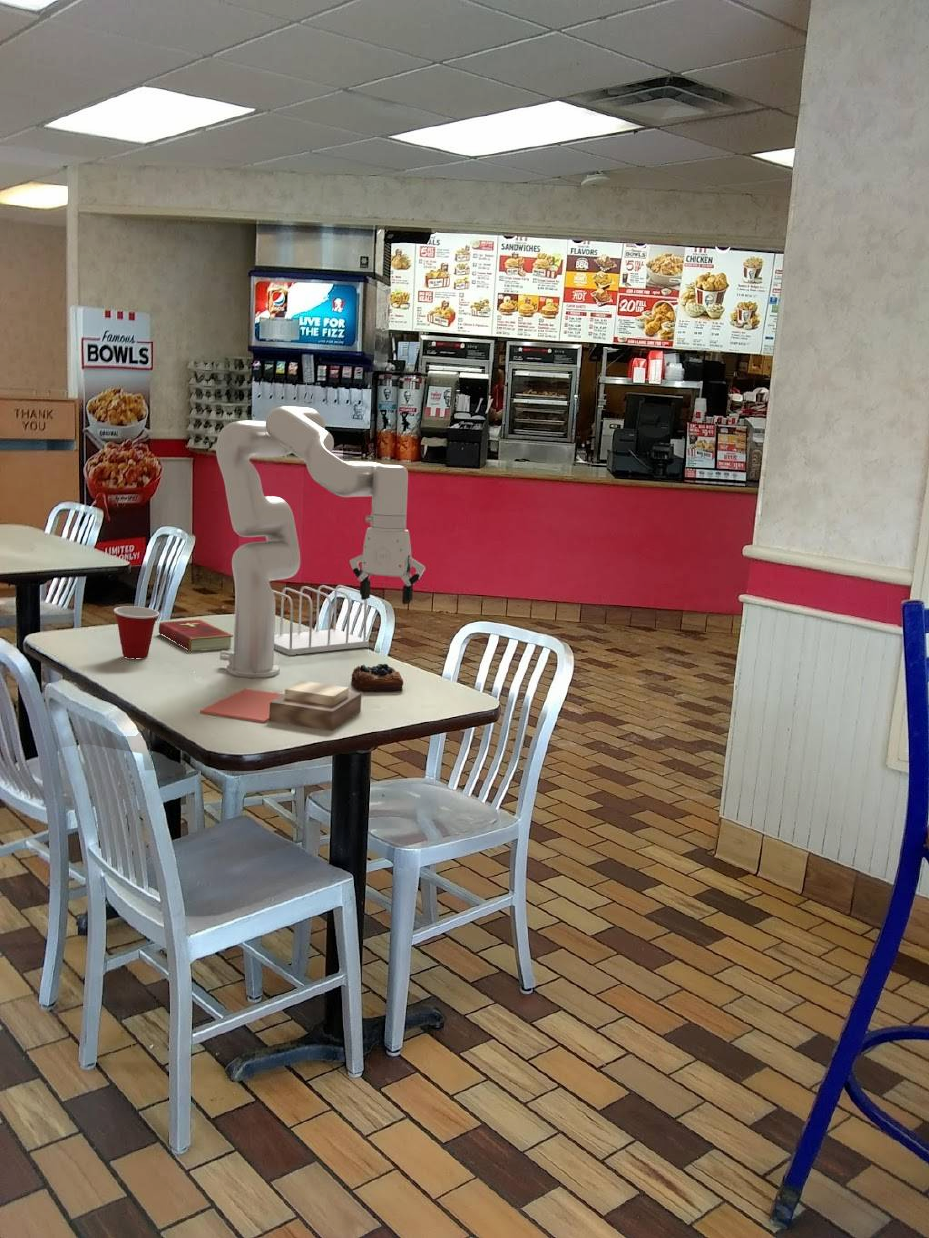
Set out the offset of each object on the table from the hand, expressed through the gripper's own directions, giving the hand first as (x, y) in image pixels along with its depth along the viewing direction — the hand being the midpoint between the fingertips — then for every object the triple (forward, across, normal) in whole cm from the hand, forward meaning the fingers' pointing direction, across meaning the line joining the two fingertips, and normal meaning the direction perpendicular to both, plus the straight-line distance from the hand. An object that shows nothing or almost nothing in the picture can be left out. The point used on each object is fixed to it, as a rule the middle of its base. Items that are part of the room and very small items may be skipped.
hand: (385, 601), depth 233 cm
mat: (+23, -24, -14) cm, 36 cm away
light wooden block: (+20, -9, -14) cm, 26 cm away
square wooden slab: (+24, -10, -14) cm, 29 cm away
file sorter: (+23, -40, +46) cm, 65 cm away
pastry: (+24, -8, +16) cm, 30 cm away
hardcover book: (+23, -68, +31) cm, 78 cm away
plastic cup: (+22, -70, +8) cm, 73 cm away
